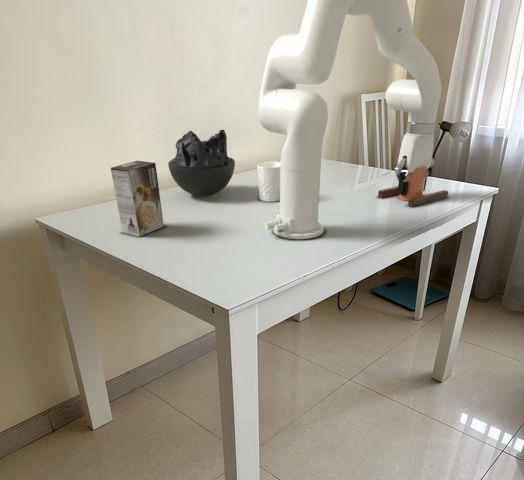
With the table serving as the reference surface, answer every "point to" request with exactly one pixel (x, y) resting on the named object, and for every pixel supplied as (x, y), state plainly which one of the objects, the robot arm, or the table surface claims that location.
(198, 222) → the table surface
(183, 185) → the bowl of black rocks
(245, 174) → the table surface
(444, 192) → the guide rails
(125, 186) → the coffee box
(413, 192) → the peach cup
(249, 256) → the table surface
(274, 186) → the white cup
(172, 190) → the table surface
